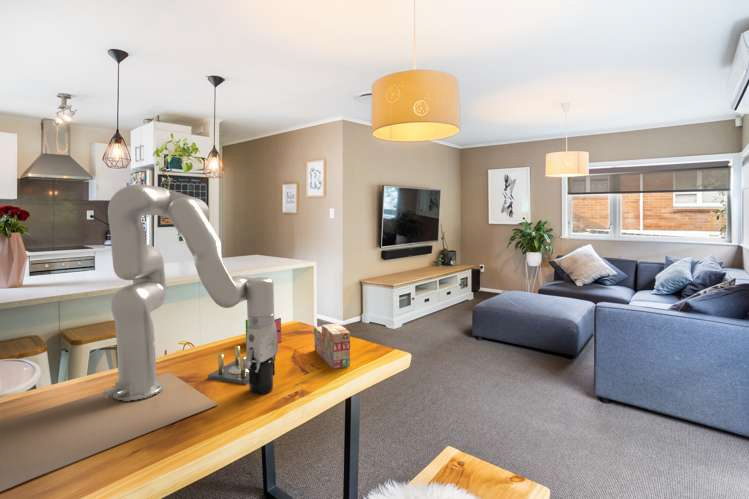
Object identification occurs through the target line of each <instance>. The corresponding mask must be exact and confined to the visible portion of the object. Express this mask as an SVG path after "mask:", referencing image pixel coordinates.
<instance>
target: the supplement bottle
mask: <svg viewBox="0 0 749 499" xmlns="http://www.w3.org/2000/svg"><path fill="white" fill-rule="evenodd" d="M254 360H256V359H255V358H254ZM253 365H254V366H255V367H256V363H253ZM259 371H260V385H259V386H258V385H251V384H250V374H249V383H248V387H249V392H250V393H251V394H253V395H265V394H268V393H270V392H271V391H272V390H273V389H274V376H273V361H272V359H271V358H269V359H268V360H266V361H264V362H262V363H260V366H259Z"/></svg>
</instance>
